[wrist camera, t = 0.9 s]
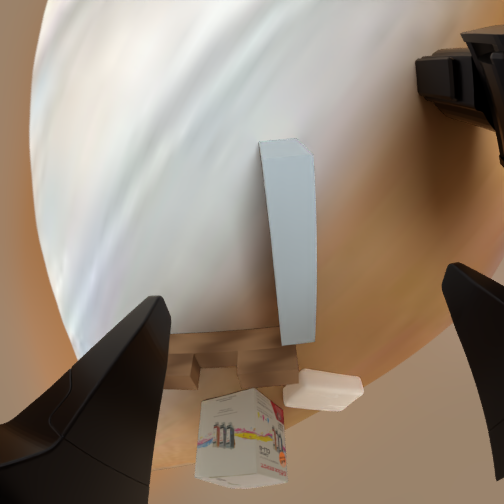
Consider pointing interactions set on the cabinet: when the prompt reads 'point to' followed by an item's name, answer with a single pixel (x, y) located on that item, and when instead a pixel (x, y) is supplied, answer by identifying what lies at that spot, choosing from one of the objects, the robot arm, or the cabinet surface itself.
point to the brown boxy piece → (232, 358)
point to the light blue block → (292, 235)
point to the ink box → (241, 441)
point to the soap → (322, 391)
